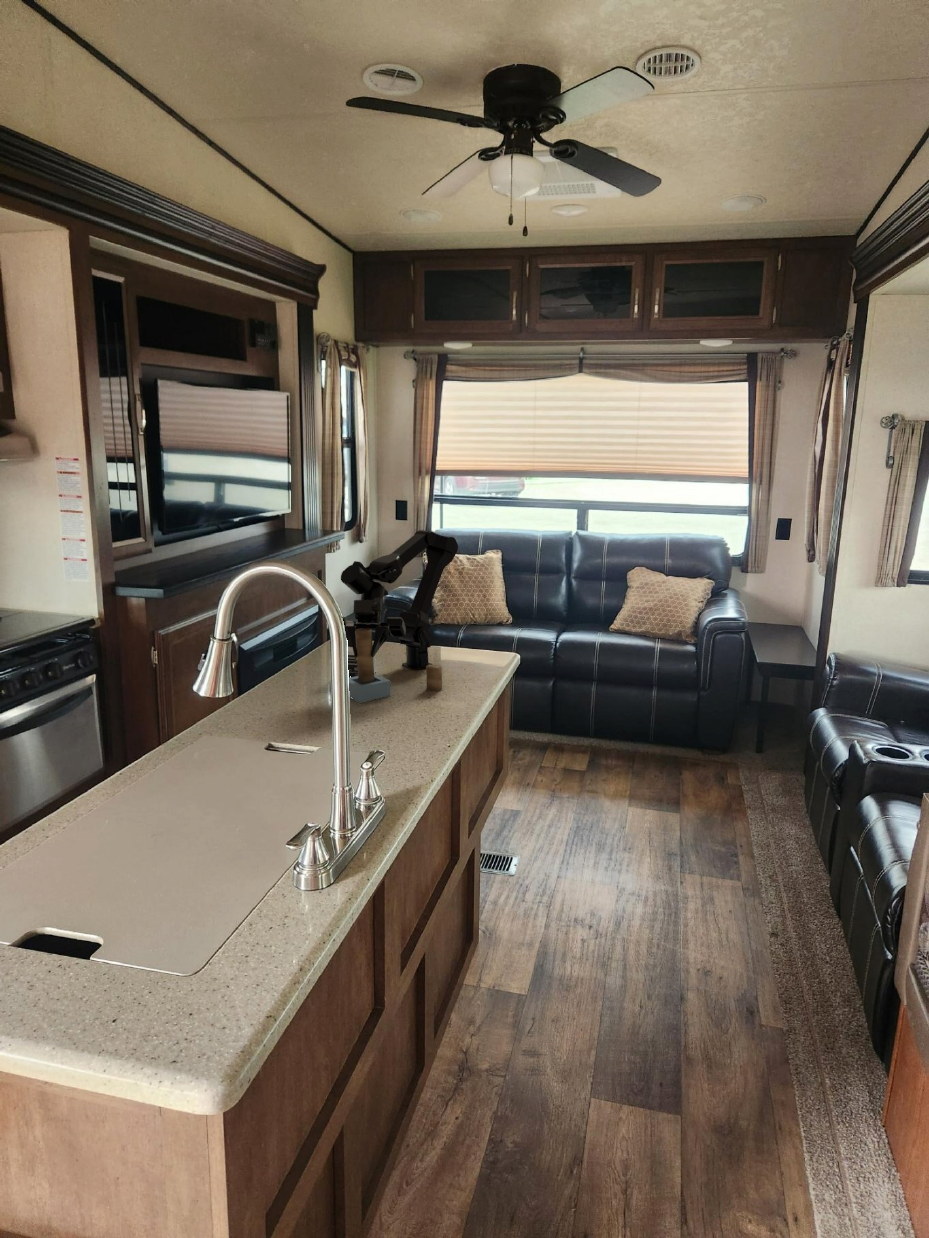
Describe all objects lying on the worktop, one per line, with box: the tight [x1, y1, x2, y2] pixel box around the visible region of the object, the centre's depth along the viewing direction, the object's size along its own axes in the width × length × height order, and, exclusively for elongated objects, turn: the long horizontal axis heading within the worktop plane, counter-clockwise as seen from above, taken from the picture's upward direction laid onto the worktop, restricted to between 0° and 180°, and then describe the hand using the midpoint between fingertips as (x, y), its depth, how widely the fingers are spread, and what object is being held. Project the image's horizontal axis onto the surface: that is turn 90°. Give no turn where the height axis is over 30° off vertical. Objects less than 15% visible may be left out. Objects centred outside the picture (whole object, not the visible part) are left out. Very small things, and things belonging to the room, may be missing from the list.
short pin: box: [425, 664, 443, 692], centre depth 214 cm, size 4×4×6 cm
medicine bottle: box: [347, 638, 377, 678], centre depth 226 cm, size 7×7×12 cm
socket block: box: [349, 673, 392, 704], centre depth 210 cm, size 9×9×4 cm
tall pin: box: [356, 628, 375, 682], centre depth 208 cm, size 4×4×13 cm
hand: (363, 656), depth 207 cm, fingers closed on tall pin, 4 cm apart
